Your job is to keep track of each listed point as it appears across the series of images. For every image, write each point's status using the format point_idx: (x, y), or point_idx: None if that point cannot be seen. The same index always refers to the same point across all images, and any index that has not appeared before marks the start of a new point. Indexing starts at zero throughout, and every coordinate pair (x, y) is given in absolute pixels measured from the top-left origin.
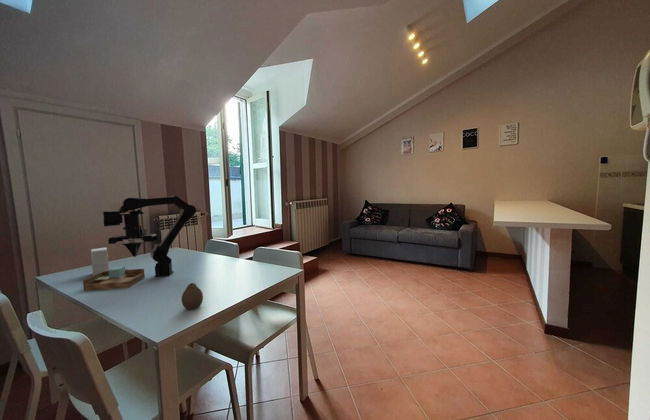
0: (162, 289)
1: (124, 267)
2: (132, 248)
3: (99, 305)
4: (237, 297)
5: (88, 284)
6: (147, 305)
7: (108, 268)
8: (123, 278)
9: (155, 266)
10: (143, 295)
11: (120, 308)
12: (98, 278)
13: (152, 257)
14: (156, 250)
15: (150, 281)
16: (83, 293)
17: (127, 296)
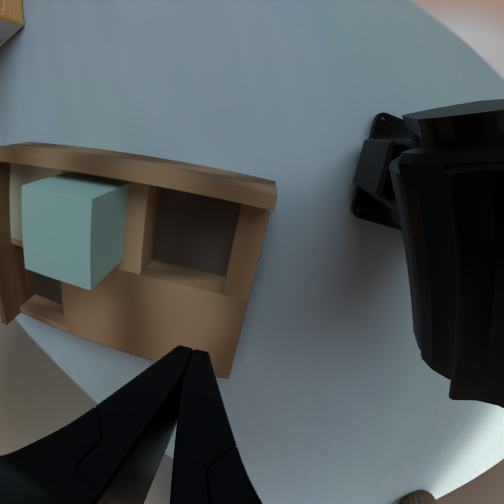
0: (381, 421)
1: (96, 205)
2: (138, 501)
3: None
4: (487, 464)
5: (31, 316)
6: (332, 489)
7: (1, 15)
8: (158, 295)
9: (384, 194)
10: (316, 449)
11: (267, 489)
12: (12, 216)
13: (415, 319)
14: (502, 392)
15: (331, 301)
16: (55, 335)
17: (260, 443)
